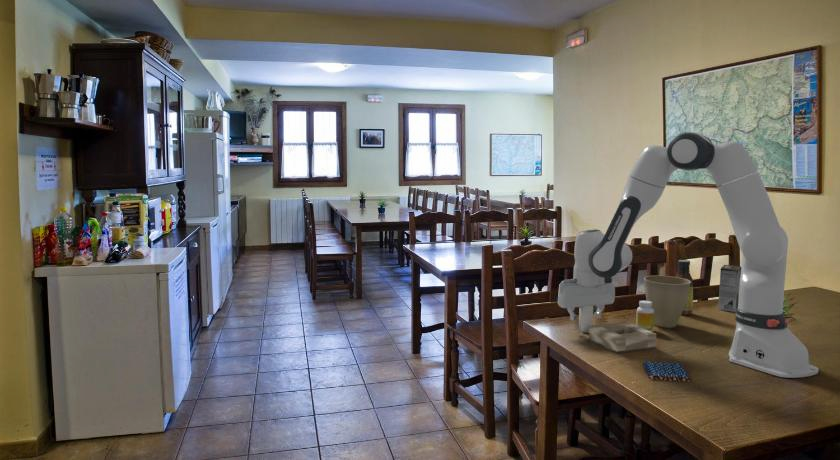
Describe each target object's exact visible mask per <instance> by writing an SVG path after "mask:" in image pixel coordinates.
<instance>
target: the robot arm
mask: <svg viewBox="0 0 840 460" xmlns="http://www.w3.org/2000/svg"><path fill="white" fill-rule="evenodd" d="M701 169H705V170H707V171H708V172H709V173H710V174H711V177H712V179H713V181H714V183H715V186H716V188H717V191H718V192H719V195H720V198H721V200H722V203H723V205H724V207H725V209H726V211H727V215H728V217H729V221H730V223H731V226H732V229H733V232H734V235H735V238H736V240H737V244H738V246H739V249H740V251H741V253H742V259H741V260H742V261H741V266H740V267H741V275H740V284H739V300H738V307H737V308H736V312H735V319H734V320H735V321H736V325H735V331H734V336H733V340H732V343H731V346H730V349H729V352H728V356H729V362H731V363H733V364H737V365H740V366H744V367H746V368H749V369H753V370H757V371H760V372H763V373H767V374H768V375H769V374H770V375H773V376H776V377H780V378H789V379H790V378H794V379H796V378H806V377H811V376H815V375H817V374H819V367H817V366H815V365H813V364H810V357H809V356H810V355H809V351H808V348H807V346H805V344H804V343H802V342H801V340H800V339H799V338H797V337H796V336H795V335H794V333H793V332H792V331H791V330H790V329H789V327H788V324H791V320H792V318H786V315H785V313H784V295H785V285H786V284H785V283H786V282H785V281H786V273H787V272H786V270H787V258H788V246H789V238H788V235H787V232H786V230H785V229H784V228H783V227H781V225H780V222H779V220H778V217H777V215H776V212H775V209H774V206H773V204H772V201H771V198H770V196H769V193H768V192H767V189H766V187H765V185H764V183H763V180H762V178H761V175H760V173H759V170H758V168H757V166H756V165H755V163H754V161H753V159H752V157H751V156H750V154H749V153H748V151H747V150H746V148H745V147H744V145H743V144H741V142H737V141H725V142H722V143H719V144H715V143H713V142H712V141H711V139H710V138H708V137H707V136H705V135H703V134H702V133H699V132H694V131H692V132H691V131H690V132H688V131H687V132H682V133H679V134H677V135H676V136H674V137H673V138H672V139H671V140H670V142H669V143H668V145H667V146H666V147H665V146H661V145H655V144H654V145H652V144H651V145H649V146H646V147H645V148H644V149H643V150H642V151H641V153H640V155H639V156H638V158H637V159H636V161H635V162H634V165H633V167H632V169H631V171H630V173H629V176H628V177H627V180H626V184H625V185H624V188H623V192H622V194H621V195H622V196H621V198H620V201H619V202H618V203H619V204H618V206H617V208H616V211H615V212H614V215H613V216H612V217H613V218H612V219H611V221H610V224H609V225H608V228H607V229H606V231H605V233H603V232H602V231H601V230H600V229H595V228H594V229H587V230H582V231H580V232H578V233H577V234H576V237H575V241H574V242H575V243H574V250H573V251H574V253H573V257H574V265H573V274H572V275H573V276H572V277H573V278H572V279H571V278H570V279H563V280H562V281H561V282H560V283H559V286H558V288H559V289H558V295H557V305H558V306H559V307H560V308H563V309H567V311H568V314H569V319H570V321H577V319H578V318H577V317H578V314H576V313H575V312H574V311H575V308H580V307H584V306H590V305H593V307H594V306H595V307H597V309H596V311H593V318H596V319H599V318H600V319H601V318H602V312H603V311H604V310H605V305H612V304H613V303H614V302H615V301H616V300H615V298H616V288H615V285H614V284H615V276H616V275H617V274H618V273H619V272H622V271H623V270H625V269H626V268H627V267H629V266H630V265H631V263H632V261H633V258H634V257H633V256H634V255H633V251H632V248H631V247H630V246H629V245H628V244H627V243H626V241H627V239H628V238H629V236H630V234H631V231H632V229H633V227H634V226H635V224H636V222H637V221H638V220H640V218H641V217H642V216H643V215H645V214H646V213H647V212H648V211H650V210H652V209H653V208H654V207H655V205H657V203H658V201H659V200H660V199H661V197H662V195H663V193H664V191H665V189H666V186H667V185H668V182H669V179H670V177H671V176H672V174H674V172H675V171H677V170H683V171H697V170H701Z"/></svg>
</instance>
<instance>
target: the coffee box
mask: <svg viewBox="0 0 840 460" xmlns="http://www.w3.org/2000/svg"><path fill="white" fill-rule="evenodd" d="M741 267H742V266H740V265H737V266H736V265H733V264H732V265H729V264H724V265H722V267H721V268H720V273H719V274H720V275H719V289H718V290H719V292H718V307H717V308H718V310H720V311H725V312H726V311H727V312H733V313H736V308H737V307H738V300H739V284H740V275H741Z"/></svg>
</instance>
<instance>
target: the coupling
mask: <svg viewBox="0 0 840 460" xmlns="http://www.w3.org/2000/svg"><path fill="white" fill-rule="evenodd" d="M578 313H579V315H578V322H577V327H578V331H579V332H581V333H586V334H587V333H588V334H589V326H592V325H594V306H593V305H590V306H584V307H579V311H578Z"/></svg>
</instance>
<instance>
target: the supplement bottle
mask: <svg viewBox="0 0 840 460" xmlns="http://www.w3.org/2000/svg"><path fill="white" fill-rule="evenodd" d="M638 304H639V306H638V307H637V309H636V319H635V320H636V322H635V325H636V326H638V327H641V328H643V329H646V330H648V331H651V332H653V331H654V324H653V322H654V310H653V309H652V308H651V307H652V302H650V301H647V300H639V301H638Z"/></svg>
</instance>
